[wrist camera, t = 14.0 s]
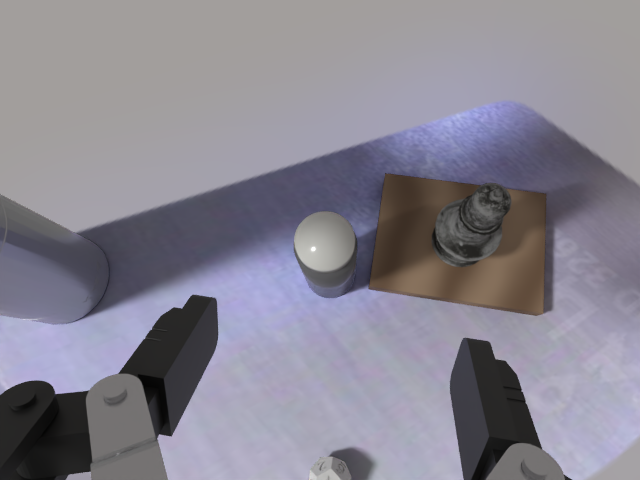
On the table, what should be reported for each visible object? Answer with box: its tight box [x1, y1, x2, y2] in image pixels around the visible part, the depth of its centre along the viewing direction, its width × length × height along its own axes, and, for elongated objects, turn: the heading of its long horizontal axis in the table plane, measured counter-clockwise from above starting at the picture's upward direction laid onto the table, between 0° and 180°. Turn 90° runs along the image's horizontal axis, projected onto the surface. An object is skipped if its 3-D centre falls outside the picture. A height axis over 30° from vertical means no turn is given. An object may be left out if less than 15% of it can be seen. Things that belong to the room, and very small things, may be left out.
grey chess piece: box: [431, 183, 512, 267], centre depth 36 cm, size 6×6×12 cm
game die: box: [309, 457, 351, 480], centre depth 37 cm, size 4×4×3 cm
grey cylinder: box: [294, 211, 357, 298], centre depth 38 cm, size 5×5×11 cm
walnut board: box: [369, 173, 546, 316], centre depth 43 cm, size 16×12×2 cm
